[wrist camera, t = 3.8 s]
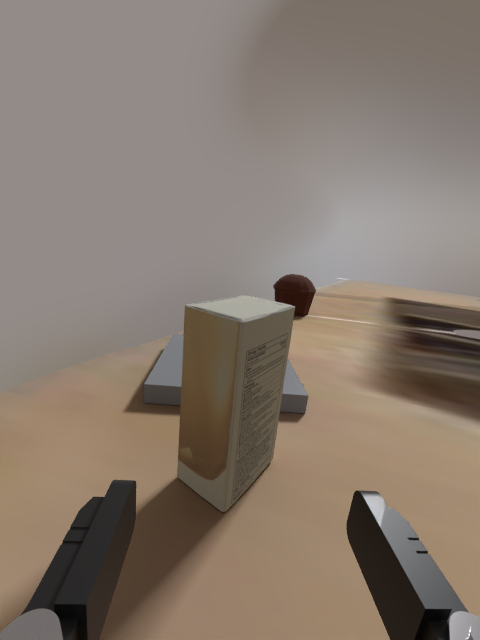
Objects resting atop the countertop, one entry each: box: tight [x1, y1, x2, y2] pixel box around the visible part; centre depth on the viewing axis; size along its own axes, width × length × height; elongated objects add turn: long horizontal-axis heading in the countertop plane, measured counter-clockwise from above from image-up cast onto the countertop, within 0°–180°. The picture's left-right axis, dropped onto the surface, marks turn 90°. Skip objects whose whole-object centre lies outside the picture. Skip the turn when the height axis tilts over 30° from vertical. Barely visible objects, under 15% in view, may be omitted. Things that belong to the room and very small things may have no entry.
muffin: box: [274, 274, 316, 316], centre depth 77 cm, size 12×11×10 cm
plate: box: [143, 334, 308, 413], centre depth 36 cm, size 16×16×2 cm
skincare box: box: [177, 295, 295, 512], centre depth 19 cm, size 6×4×12 cm
